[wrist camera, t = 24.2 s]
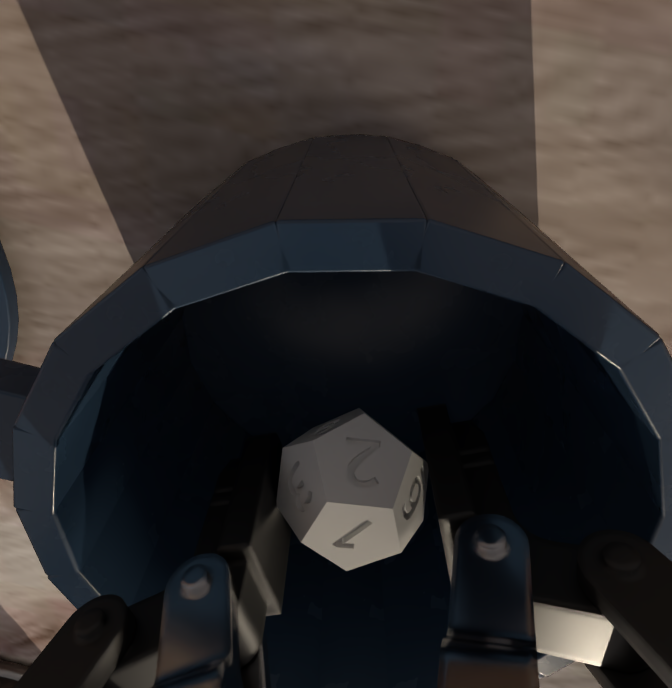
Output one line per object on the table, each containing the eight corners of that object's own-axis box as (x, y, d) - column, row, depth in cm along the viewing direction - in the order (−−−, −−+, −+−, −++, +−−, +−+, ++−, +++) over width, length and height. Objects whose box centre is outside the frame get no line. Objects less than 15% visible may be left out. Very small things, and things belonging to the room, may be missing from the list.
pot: (503, 511, 23) (589, 763, 15) (81, 409, 21) (-97, 640, 12) (687, 234, 17) (1024, 406, 8) (105, 40, 14) (-233, 10, 6)
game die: (451, 439, 13) (475, 533, 11) (352, 511, 15) (352, 610, 12) (353, 359, 12) (354, 442, 9) (256, 445, 13) (234, 539, 11)
